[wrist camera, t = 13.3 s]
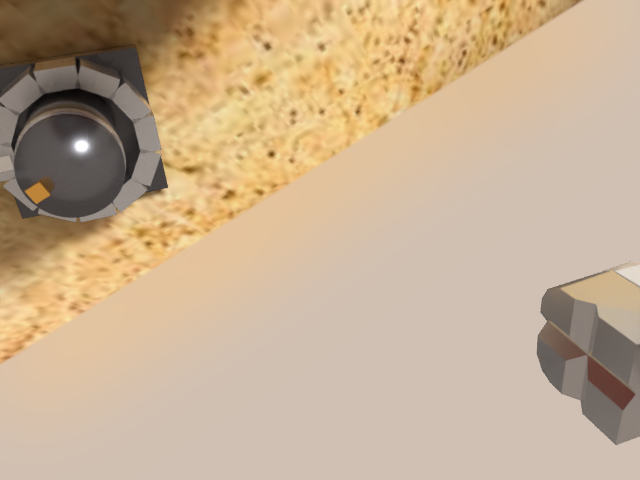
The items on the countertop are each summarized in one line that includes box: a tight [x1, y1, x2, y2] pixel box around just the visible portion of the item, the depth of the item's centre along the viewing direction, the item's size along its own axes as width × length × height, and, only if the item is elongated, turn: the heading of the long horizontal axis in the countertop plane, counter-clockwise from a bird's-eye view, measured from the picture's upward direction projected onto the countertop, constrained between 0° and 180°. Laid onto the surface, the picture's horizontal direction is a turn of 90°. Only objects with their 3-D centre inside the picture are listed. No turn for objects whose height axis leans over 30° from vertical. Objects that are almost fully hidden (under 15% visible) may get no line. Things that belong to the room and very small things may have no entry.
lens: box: [13, 88, 126, 218], centre depth 33 cm, size 5×5×8 cm
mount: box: [0, 45, 168, 222], centre depth 36 cm, size 9×9×4 cm
